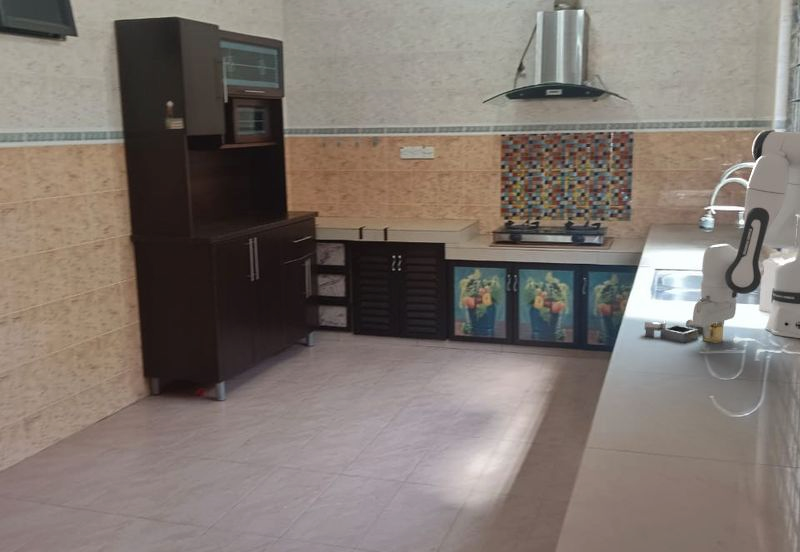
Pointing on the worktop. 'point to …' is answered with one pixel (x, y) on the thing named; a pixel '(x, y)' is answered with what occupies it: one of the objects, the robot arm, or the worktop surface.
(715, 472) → the worktop surface
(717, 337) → the coupler
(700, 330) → the grey irregular block
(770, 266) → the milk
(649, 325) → the grey brown arch block
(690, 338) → the box
